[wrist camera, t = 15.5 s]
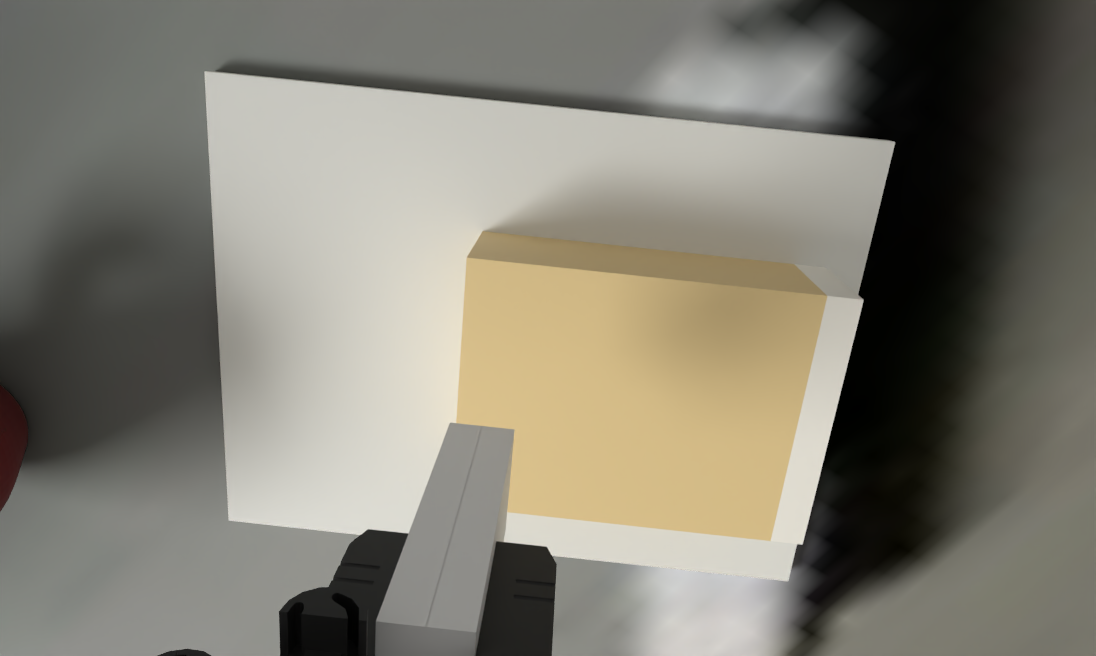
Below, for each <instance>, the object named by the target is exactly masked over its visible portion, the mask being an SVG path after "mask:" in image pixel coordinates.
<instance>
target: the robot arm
mask: <svg viewBox="0 0 1096 656" xmlns="http://www.w3.org/2000/svg"><path fill="white" fill-rule="evenodd" d="M514 431H515V429H506V428H496V427H487V426H478V425H468V424H459V423H450V424H449V427H448V429H447V432H446V435H445V437H444V440H443V443H442V445H441V448H440V451H439V453H438V456H437V459H436V461H435V464H434V467H433V469H432V472H431V475H430V478H429V480H428V483H427V486H426V488H425V491H424V494H423V496H422V499H421V502H420V504H419V507H418V510H417V512H416V515H415V518H414V520H413V523H412V526H411V528H410V531H409V533H400V532H390V531H381V530H372V529H367V530H366V531H365V532H364V533H363V534H361V535H360V536H359V537H358V538H356V539H355V540H354V541H353V542H351V543H350V544H349V546H348V548H347V550H346V553H345V555H344V557H343V559H342V561H341V565H340V566H339V567H338V569H337V571H336V573H335V575H334V578H333V581H331V583H330V585H329V587H322V588H316V589H313V590H309V591H305V592H302V593H301V594H299V595H297V596H295V597H294V598H292V599H290V600H289V601H288V602H287V603H286V604H285V605H284V606H283V608H282V609H281V610H280V611H279V621H280V656H552V637H553V619H554V600H555V583H556V565H557V564H556V563H555V561H554V559H553V557H552V555H551V553H550V552H549V550H548V548H547V547H545V546H536V545H527V544H518V543H508V542H504V536H505V530H506V519H507V508H508V497H509V486H510V475H511V464H512V453H513V442H514ZM158 656H211V655H209V654H207V653H206V652H204V651H198V650H191V649H183V650H176V651H169V652H166V653H163V654H161V655H158Z"/></svg>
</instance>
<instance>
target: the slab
mask: <svg viewBox="0 0 1096 656" xmlns="http://www.w3.org/2000/svg"><path fill="white" fill-rule="evenodd" d="M863 301H864V300H863V299H862V298H861V297H860V296H859V295H857V294H856V293H855V292H854V291H853V290H851V289H850V288H849V287H848V286H847V285H846V284H844V283H843V282H842V281H841V280H840V279H838V278H837V277H836V276H835V275H834V274H833V273H831V272H830V271H829V270H828V269H827V268H825V267H817V266H807V265H798V264H788V263H779V262H770V261H760V260H751V259H741V258H732V257H722V256H713V255H703V254H694V253H685V252H675V251H666V250H656V249H647V248H637V247H628V246H619V245H609V244H600V243H590V242H581V241H571V240H562V239H553V238H543V237H534V236H524V235H515V234H505V233H496V232H486V231H482V233H481V235H480V236H479V238H478V240H477V241H476V243H475V245H474V246H473V248H472V249H471V251H470V253H469V254H468V256H467V259H466V275H465V291H464V307H463V322H462V338H461V354H460V370H459V386H458V402H457V417H456V423H459V424H468V425H478V426H487V427H496V428H506V429H515V431H514V442H513V453H512V464H511V475H510V486H509V497H508V508H507V512H510V513H519V514H528V515H537V516H546V517H555V518H564V519H574V520H583V521H592V522H601V523H610V524H619V525H628V526H637V527H646V528H656V529H665V530H674V531H683V532H692V533H701V534H710V535H719V536H729V537H738V538H747V539H756V540H765V541H774V542H783V543H792V544H801V545H803V541H804V537H805V533H806V529H807V525H808V521H809V517H810V513H811V509H812V505H813V501H814V497H815V493H816V489H817V485H818V481H819V477H820V473H821V469H822V465H823V461H824V457H825V453H826V449H827V445H828V441H829V437H830V433H831V429H832V425H833V421H834V417H835V413H836V409H837V405H838V401H839V397H840V393H841V389H842V385H843V381H844V377H845V373H846V369H847V365H848V361H849V357H850V353H851V349H852V345H853V341H854V337H855V333H856V329H857V325H858V321H859V317H860V313H861V309H862V305H863Z"/></svg>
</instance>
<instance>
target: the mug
mask: <svg viewBox="0 0 1096 656" xmlns="http://www.w3.org/2000/svg"><path fill="white" fill-rule="evenodd" d="M27 442H28V426H27V421H26V418H25V415H24V413H23V411H22V409H21V407H20V405H19V404H18V403H17V401H16V400H15V398H14V397H13V396H12V395H11V394H10V393H9V392H8V391H7V390H6V389H5V388H3V387H2V386H1V385H0V511H1V510H2V508H3V507H4V505H5V503H6V502H7V500H8V498H9V496H10V494H11V492H12V489H13V487H14V484H15V482H16V479H17V476H18V473H19V470H20V467H21V463H22V460H23V456H24V453H25V450H26V446H27Z"/></svg>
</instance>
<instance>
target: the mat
mask: <svg viewBox="0 0 1096 656" xmlns="http://www.w3.org/2000/svg"><path fill="white" fill-rule="evenodd" d="M204 72H205V91H206V109H207V128H208V146H209V165H210V183H211V202H212V220H213V238H214V257H215V275H216V294H217V312H218V331H219V349H220V368H221V386H222V405H223V423H224V442H225V460H226V479H227V497H228V516H229V521H238V522H247V523H256V524H265V525H275V526H284V527H293V528H302V529H311V530H321V531H330V532H339V533H348V534H358V535H361V534H363V533H364V532H365V531H366V530H367V529H372V530H381V531H390V532H400V533H409V531H410V528H411V526H412V523H413V520H414V518H415V515H416V512H417V510H418V507H419V504H420V502H421V499H422V496H423V494H424V491H425V488H426V486H427V483H428V480H429V478H430V475H431V472H432V469H433V467H434V464H435V461H436V459H437V456H438V453H439V451H440V448H441V445H442V443H443V440H444V437H445V435H446V432H447V429H448V427H449V424H450V423H456V417H457V402H458V386H459V370H460V354H461V338H462V322H463V307H464V291H465V275H466V259H467V256H468V254H469V253H470V251H471V249H472V248H473V246H474V245H475V243H476V241H477V240H478V238H479V236H480V235H481V233H482V231H486V232H496V233H505V234H515V235H524V236H534V237H543V238H553V239H562V240H571V241H581V242H590V243H600V244H609V245H619V246H628V247H637V248H647V249H656V250H666V251H675V252H685V253H694V254H703V255H713V256H722V257H732V258H741V259H751V260H760V261H770V262H779V263H788V264H798V265H807V266H817V267H825V268H827V269H828V270H829V271H830V272H831V273H833V274H834V275H835V276H836V277H837V278H838V279H840V280H841V281H842V282H843V283H844V284H846V285H847V286H848V287H849V288H850V289H851V290H853V291H854V292H855V293H856V294H857V295H858V293H859V289H860V285H861V281H862V277H863V272H864V268H865V264H866V260H867V256H868V252H869V248H870V244H871V240H872V236H873V231H874V227H875V223H876V219H877V215H878V211H879V207H880V203H881V199H882V195H883V190H884V186H885V182H886V178H887V174H888V170H889V166H890V162H891V158H892V154H893V150H894V145H895V142H893V141H889V140H881V139H872V138H862V137H852V136H842V135H833V134H823V133H813V132H803V131H793V130H784V129H774V128H764V127H754V126H745V125H735V124H725V123H715V122H705V121H696V120H686V119H676V118H666V117H656V116H647V115H637V114H627V113H617V112H608V111H598V110H588V109H578V108H568V107H559V106H549V105H539V104H529V103H519V102H510V101H500V100H490V99H480V98H471V97H461V96H451V95H441V94H431V93H422V92H412V91H402V90H392V89H382V88H373V87H363V86H353V85H343V84H334V83H324V82H314V81H304V80H294V79H285V78H275V77H265V76H255V75H246V74H236V73H226V72H216V71H204ZM504 542H508V543H518V544H527V545H536V546H545V547H547V548H548V550H549V552H550V553H551V555H552V556H560V557H569V558H579V559H588V560H597V561H606V562H615V563H625V564H634V565H643V566H652V567H662V568H671V569H680V570H689V571H698V572H708V573H717V574H726V575H735V576H744V577H754V578H763V579H772V580H781V581H788V580H789V575H790V571H791V567H792V563H793V559H794V555H795V551H796V547H797V544H792V543H783V542H774V541H765V540H756V539H747V538H738V537H729V536H719V535H710V534H701V533H692V532H683V531H674V530H665V529H656V528H646V527H637V526H628V525H619V524H610V523H601V522H592V521H583V520H574V519H564V518H555V517H546V516H537V515H528V514H519V513H510V512H507V519H506V530H505V536H504Z"/></svg>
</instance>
